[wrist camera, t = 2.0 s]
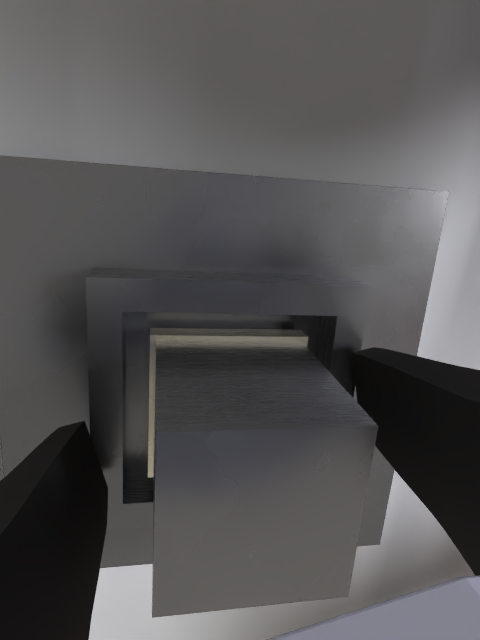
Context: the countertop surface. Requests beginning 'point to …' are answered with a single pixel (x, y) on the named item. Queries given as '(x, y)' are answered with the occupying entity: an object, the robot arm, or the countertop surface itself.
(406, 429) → the robot arm
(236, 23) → the countertop surface
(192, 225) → the stand base
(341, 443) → the brushed metal block
